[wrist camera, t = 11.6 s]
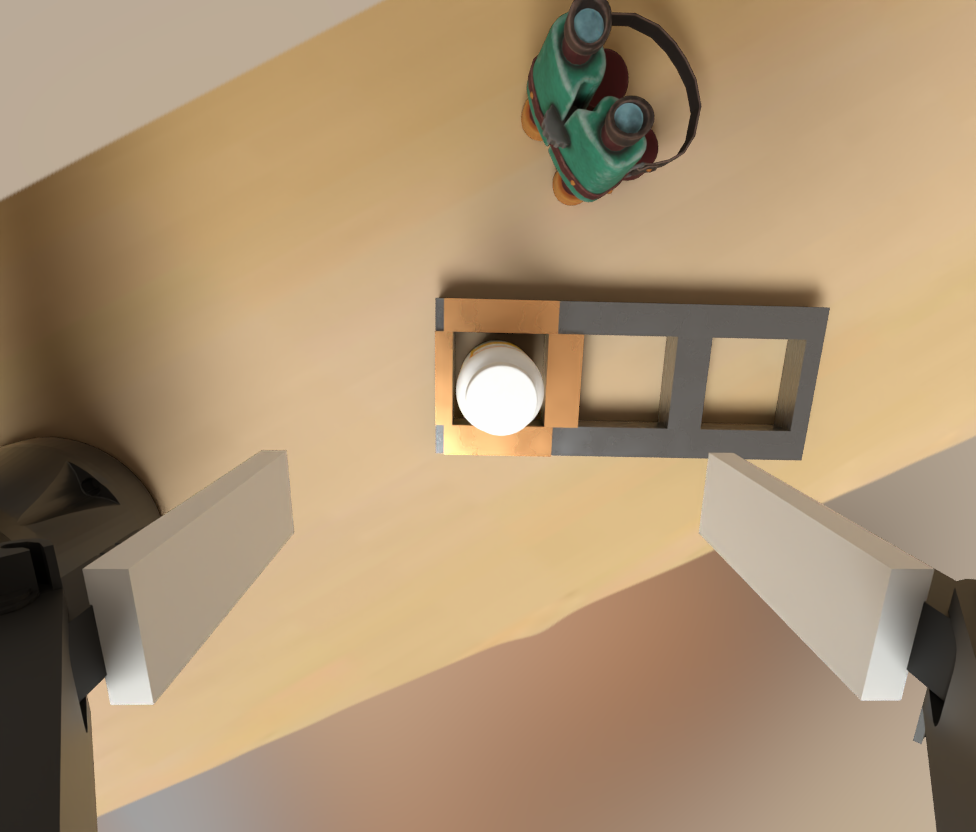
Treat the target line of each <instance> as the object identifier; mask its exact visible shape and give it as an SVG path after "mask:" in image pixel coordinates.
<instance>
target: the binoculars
mask: <svg viewBox="0 0 976 832" xmlns="http://www.w3.org/2000/svg"><path fill="white" fill-rule="evenodd" d="M611 26H629V27H631V28H633V29H635V30H637V31H639V32H641V33H643V34H645V35H647V36H649V37H651V38H652V39H653V40H654V41H655V42H656V43H657V44H658V45H659V46H660V47H661V48H662V49H663V50H664V51H665V52H666V54H667V55H668V57H669V58H670V60H671V61H672V63H673V64H674V66H675V67H676V69H677V70H678V73H679V75H680V77H681V79H682V81H683V83H684V85H685V87H686V90H687V96H688V101H689V106H690V112H691V115H690V120H689V125H688V130H687V135H686V140H685V143H684V144H683V146H682V147H681V149H680V151H679V152H678V154H677V155H676V156H674V157H672V158H671V159H669V160H665V161H660V162H656V163H654V161H655V159H656V157H657V153H658V141H657V138H656V136H655V134H654V132H653V131H652V130H651V128H652V126H653V123H654V112H653V109H652V107H651V105H650V104H649V103H648V102H647V101H646V100H645V99H643V98H641V97H637V96H625V97H624V95H625V93H626V90H627V87H628V71H627V67H626V64H625V62H624V60H623V59H622V57H621V56H620V55H619V54H618V53H617V52H615V51H613V50H611V49H604V48H603V45H604V43H605V42H606V40H607V38H608V36H609V34H610V31H611ZM527 94H528V99H527V100H526V103H525V105H524V108H523V111H522V116H521V122H522V127H523V129H524V131H525V133H526V134H527V135H528V136H529V137H530V138H532V139H534V140H538V141H544V143H545V145H546V146H549V144H550V147H549V150H548V151H549V154H550V156H551V159H552V161H553V163H554V165H555V167H556V169H557V172H556V174H555V176H554V179H553V191H554V194H555V196H556V197H557V199H558V200H559V201H560V202H562V203H563V204H566V205H577V204H580V203H581V202H583V201H584V202H593V201H595V200H597V199H599V198H601V197H602V196H604V195H605V194H607V193H608V194H611V193H612V190H613V189H614V188H616V187H617V186H618V185H619V184H620V183H621V181H622V180H626V181H628V180H634V179H636V178H639V177H640V176H641V175H643V174H644V173H646V172H652V171H655V170H656V169H657V168H659V167H662V166H664V165H666V164H668V163H669V162H671V161H673V160H675V159H676V158H678V157H679V156H681V155H682V154H684V153H685V151H686V150H687V148H688V147H689V145H690V143H691V142H692V140H693V139H694V137H695V134H696V129H697V124H698V120H699V115H700V110H701V102H700V96H699V91H698V85H697V80H696V77H695V75H694V73H693V71H692V69H691V67H690V65H689V63H688V61H687V58H686V57H685V55H684V54H683V52H682V51H681V49H680V48H679V46H678V45H677V43H676V42H675V41H674V40H673V39H672V38H671V37H670V36H669V35H668V33H667V32H666V31H665V30H664V29H663V28H662V27H661V26H660V25H658V24H656V23H654V22H652V21H650V20H648V19H646V18H644V17H642V16H640V15H638V14H636V13H617V12H612V13H611V8H610V6H609V3H608V1H607V0H574V1H573V3H572V5H571V7H570V10H569V12H567V13H565V14H563V15H561V16H560V17H559V18H558V19H557V20H556V21H555V22H554V24H553V25H552V27H551V29H550V31H549V33H548V35H547V37H546V40H545V42H544V44H543V46H542V48H541V50H540V53H539V54H538V55H537V56H536V57H535V58H534V59H533V62H532V65H531V68H530V72H529V76H528V82H527Z"/></svg>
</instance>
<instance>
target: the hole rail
mask: <svg viewBox="0 0 976 832" xmlns="http://www.w3.org/2000/svg"><path fill="white" fill-rule="evenodd" d="M829 310H830V308H824V307H783V306H743V305H702V304H661V303H621V302H580V301H542V300H502V299H461V298H436V331H435V425H436V453H444V454H448V455H498V456H548V457H551V455H561V456H611V457H661V458H708V456H709V453H734V454H736V455H738V456H740V457H741V458H743V459H760V460H802V454H803V449H804V444H805V438H806V433H807V428H808V422H809V417H810V411H811V406H812V401H813V395H814V390H815V385H816V379H817V374H818V369H819V363H820V358H821V352H822V347H823V342H824V336H825V331H826V326H827V320H828V315H829ZM455 332H494V333H536V334H545V341H544V361H543V383H544V398H543V403H542V406H541V420H537V419H533V420H532V421H531V422H530V423H529V424H528V425H527V426H525V427H524V428H523V429H522V430H520V431H518V432H516V433H514V434H510V435H505V436H498V435H492V434H489V433H487V432H484V431H482V430H480V429H478V428H476V427H475V426H473V425H472V424H471V423H470V422H469V421H468V420H467V419H466V418H454V374H455ZM584 334H588V335H630V336H667V341H666V350H665V359H664V368H663V377H662V386H661V395H660V404H659V413H658V422H632V421H585V420H578V416H579V402H580V388H581V373H582V359H583V345H584ZM713 337H715V338H757V339H788V343H787V349H786V355H785V361H784V367H783V373H782V379H781V385H780V391H779V397H778V402H777V408H776V414H775V420H774V424H727V423H701V421H702V413H703V406H704V398H705V391H706V383H707V376H708V368H709V361H710V353H711V345H712V338H713Z"/></svg>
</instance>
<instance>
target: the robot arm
mask: <svg viewBox="0 0 976 832" xmlns="http://www.w3.org/2000/svg"><path fill="white" fill-rule="evenodd" d="M293 533H294V525H293V514H292V503H291V492H290V481H289V470H288V459H287V450H261V451H260V452H258V453H257V454H255V455H254V456H252V457H251V458H249V459H248V460H246V461H245V462H243V463H242V464H240V465H239V466H237V467H236V468H234V469H233V470H231V471H230V472H228V473H227V474H225V475H224V476H222V477H221V478H219V479H217V480H216V481H214V482H213V483H211V484H210V485H208V486H207V487H205V488H204V489H202V490H201V491H199V492H198V493H196V494H195V495H193V496H192V497H190V498H189V499H187V500H186V501H184V502H183V503H181V504H180V505H178V506H177V507H175V508H174V509H172V510H171V511H169V512H168V513H166V514H165V515H163V516H162V517H160V514H159V511H158V509H157V507H156V504H155V502H154V501H153V499H152V497H151V495H150V494H149V492H148V491H147V489H146V488H145V486H144V485H143V484H142V483H141V481H140V480H139V479H138V478H137V477H136V476H135V475H134V474H133V473H132V472H131V471H130V470H129V469H128V468H127V467H125V466H124V465H123V464H122V463H120V462H119V461H118V460H116V459H115V458H113V457H112V456H110V455H109V454H107V453H105V452H103V451H101V450H99V449H97V448H95V447H92V446H90V445H87V444H84V443H81V442H78V441H74V440H69V439H64V438H53V437H42V438H32V439H27V440H23V441H19V442H16V443H12V444H9V445H6V446H2V447H0V832H97V813H96V796H95V779H94V761H93V744H92V727H91V711H90V707H89V702H88V698H87V694H88V693H89V692H90V691H91V690H92V689H93V688H94V687H95V686H96V685H97V684H98V683H100V682H101V681H102V680H103V679H104V678H105V680H106V684H107V689H108V694H109V699H110V703H111V705H154V703H155V702H156V701H157V700H158V699H159V697H160V696H161V695H162V694H163V692H164V691H165V690H166V689H167V688H168V686H169V685H170V684H171V683H172V681H173V680H174V679H175V678H176V677H177V675H178V674H179V673H180V672H181V670H182V669H183V668H184V667H185V666H186V664H187V663H188V662H189V661H190V659H191V658H192V657H193V656H194V655H195V653H196V652H197V651H198V650H199V648H200V647H201V646H202V645H203V644H204V642H205V641H206V640H207V639H208V637H209V636H210V635H211V634H212V633H213V631H214V630H215V629H216V628H217V626H218V625H219V624H220V623H221V622H222V620H223V619H224V618H225V617H226V615H227V614H228V613H229V612H230V611H231V609H232V608H233V607H234V606H235V604H236V603H237V602H238V601H239V599H240V598H241V597H242V596H243V595H244V593H245V592H246V591H247V590H248V588H249V587H250V586H251V585H252V584H253V582H254V581H255V580H256V579H257V577H258V576H259V575H260V574H261V573H262V571H263V570H264V569H265V568H266V566H267V565H268V564H269V563H270V562H271V560H272V559H273V558H274V557H275V555H276V554H277V553H278V552H279V551H280V549H281V548H282V547H283V546H284V544H285V543H286V542H287V541H288V540H289V538H290V537H291V536H292V535H293ZM699 534H700V535H701V536H702V537H703V538H704V539H705V540H706V541H707V542H708V543H709V544H710V545H711V546H712V547H713V548H714V549H715V550H716V551H717V552H718V553H719V555H720V556H721V557H722V558H723V559H724V560H725V561H726V562H727V563H728V564H729V565H730V566H731V567H732V568H733V569H734V570H735V571H736V572H737V573H738V574H739V575H740V576H741V577H742V578H743V579H744V580H745V581H746V582H747V583H748V584H749V585H750V586H751V588H752V589H754V591H755V592H756V593H757V594H758V595H759V596H760V597H761V598H762V599H763V600H764V601H765V602H766V603H767V604H768V605H769V606H770V607H771V608H772V609H773V610H774V611H775V612H776V613H777V614H778V615H779V616H780V617H781V618H782V620H783V621H784V622H785V623H786V624H787V625H788V626H789V627H790V628H791V629H792V630H793V631H794V632H795V633H796V634H797V635H798V636H799V637H800V638H801V639H802V640H803V641H804V642H805V643H806V644H807V645H808V646H809V647H810V648H811V649H812V651H814V652H815V654H816V655H817V656H818V657H819V658H820V659H821V660H822V661H823V662H824V663H825V664H826V665H827V666H828V667H829V668H830V669H831V670H832V671H833V672H834V673H835V674H836V675H837V676H838V677H839V678H840V679H841V680H842V681H843V682H844V683H845V685H846V686H847V687H848V688H849V689H850V690H851V691H852V692H853V693H854V694H855V695H856V696H858V698H859V699H860V700H901V698H902V694H903V690H904V686H905V682H906V678H907V674H908V671H909V672H910V673H911V674H912V675H914V676H915V677H916V678H917V679H918V680H919V681H921V682H922V683H923V684H924V685H925V686H927V691H926V695H925V698H924V702H923V706H922V710H921V713H920V717H919V721H918V724H917V728H916V732H915V736H914V739H913V741H915V742H918V743H920V744H921V743H922V741H923V739H924V737H926V742H927V751H928V758H929V768H930V776H931V785H932V793H933V802H934V812H935V820H936V829H937V832H976V580H974V579H964V580H960V581H955V580H953V579H952V578H950V577H948V576H946V575H944V574H943V573H941V572H939V571H937V570H936V569H934V568H932V567H931V566H929V565H927V564H926V563H924V562H922V561H920V560H919V559H917V558H915V557H913V556H912V555H910V554H908V553H906V552H905V551H903V550H901V549H899V548H898V547H896V546H894V545H892V544H891V543H889V542H887V541H885V540H884V539H882V538H880V537H879V536H877V535H875V534H873V533H872V532H870V531H868V530H866V529H864V528H863V527H861V526H859V525H857V524H856V523H854V522H852V521H851V520H849V519H847V518H845V517H844V516H842V515H840V514H838V513H837V512H835V511H833V510H831V509H830V508H828V507H826V506H825V505H823V504H821V503H819V502H818V501H816V500H814V499H812V498H811V497H809V496H807V495H805V494H804V493H802V492H800V491H799V490H797V489H795V488H793V487H792V486H790V485H788V484H786V483H785V482H783V481H781V480H779V479H778V478H776V477H774V476H772V475H771V474H769V473H767V472H766V471H764V470H762V469H760V468H759V467H757V466H755V465H753V464H752V463H750V462H748V461H746V460H745V459H743V458H741V457H740V456H738V455H736V454H734V453H709V456H708V464H707V472H706V480H705V488H704V496H703V504H702V512H701V520H700V528H699Z"/></svg>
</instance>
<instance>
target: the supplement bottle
mask: <svg viewBox="0 0 976 832" xmlns="http://www.w3.org/2000/svg"><path fill="white" fill-rule="evenodd" d="M456 396H457V402H458V405H459V408H460V410H461V412H462V414H463V415H464V417H465V418H466V419H467V420H468V421H469V422H470V423H471V424H472V425H473V426H475V427H476V428H478V429H480V430H482V431H484V432H487V433H489V434H492V435H498V436H505V435H510V434H514V433H516V432H518V431H520V430H522V429H523V428H524V427H525V426H527V425H528V424H529V423H530V422H531V421H532V420H533V419H534V418H535V417H536V415H537V414H538V412H539V410H540V408H541V406H542V403H543V398H544V383H543V379H542V376H541V374H540V371H539V369H538V368H537V366H536V365H535V363H534V362H533V361H532V360H531V359H530V358H529V357H528V356H527V355H526V354H525V353H524V351H523V350H521V349H520V348H519V347H518V346H516V345H514V344H512V343H510V342H507V341H502V340H492V341H487V342H484V343H482V344H480V345H478V346H476V347H475V348H474V349H473V350H472V351H471V352H470V353H469V354H468V355H467V357H466V358H465V360H464V362H463V365H462V368H461V371H460V373H459V376H458V380H457V385H456Z"/></svg>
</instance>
